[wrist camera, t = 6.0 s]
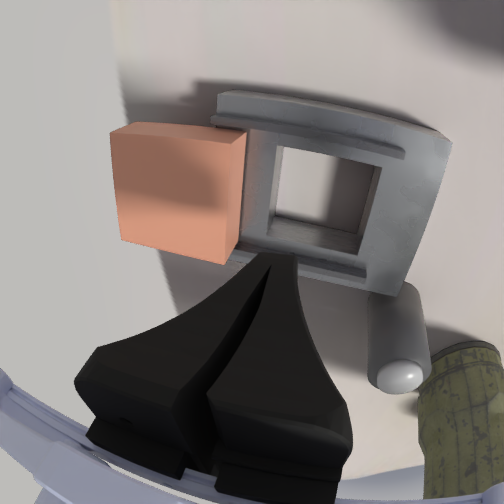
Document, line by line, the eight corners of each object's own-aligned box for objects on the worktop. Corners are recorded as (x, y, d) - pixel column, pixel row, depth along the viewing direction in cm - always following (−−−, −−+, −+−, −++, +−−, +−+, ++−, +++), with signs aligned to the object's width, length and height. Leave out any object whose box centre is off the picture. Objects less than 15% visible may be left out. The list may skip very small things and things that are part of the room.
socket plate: (439, 131, 15) (457, 146, 12) (393, 273, 21) (397, 305, 18) (232, 89, 17) (211, 96, 14) (224, 235, 23) (206, 262, 20)
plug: (428, 287, 21) (444, 365, 15) (407, 325, 23) (414, 402, 17) (377, 275, 21) (381, 355, 16) (361, 316, 24) (357, 394, 18)
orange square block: (246, 131, 15) (230, 144, 13) (238, 240, 19) (224, 265, 17) (136, 121, 17) (109, 132, 14) (142, 220, 20) (121, 239, 18)
